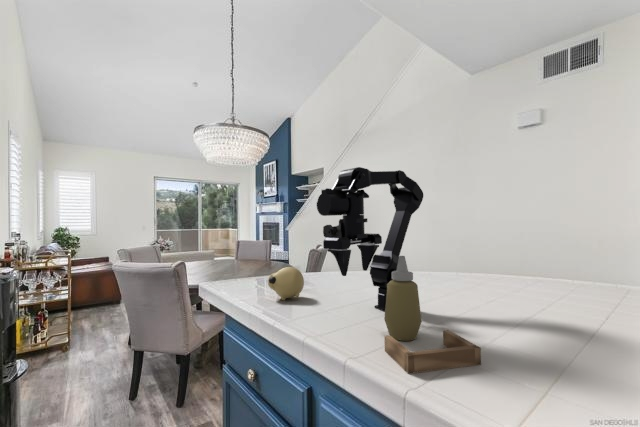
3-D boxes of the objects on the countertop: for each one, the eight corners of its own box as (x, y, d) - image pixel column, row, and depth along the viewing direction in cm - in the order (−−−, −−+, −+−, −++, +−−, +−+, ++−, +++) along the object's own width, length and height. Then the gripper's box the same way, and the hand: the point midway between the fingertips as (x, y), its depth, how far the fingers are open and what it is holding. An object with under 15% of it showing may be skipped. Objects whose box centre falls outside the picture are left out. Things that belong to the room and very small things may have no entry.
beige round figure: (272, 294, 106) (272, 264, 107) (305, 295, 105) (305, 264, 106) (264, 302, 97) (264, 268, 97) (301, 302, 96) (301, 269, 96)
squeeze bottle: (424, 345, 63) (423, 258, 63) (384, 342, 64) (383, 257, 65) (419, 331, 71) (418, 254, 71) (384, 329, 72) (383, 253, 73)
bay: (384, 350, 60) (384, 335, 60) (448, 344, 63) (448, 329, 63) (408, 373, 51) (407, 355, 51) (480, 364, 54) (480, 347, 54)
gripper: (351, 215, 93) (352, 265, 93) (307, 216, 80) (309, 275, 80) (381, 214, 86) (383, 269, 85) (339, 215, 72) (341, 280, 72)
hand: (354, 273), depth 81 cm, fingers open, 9 cm apart
